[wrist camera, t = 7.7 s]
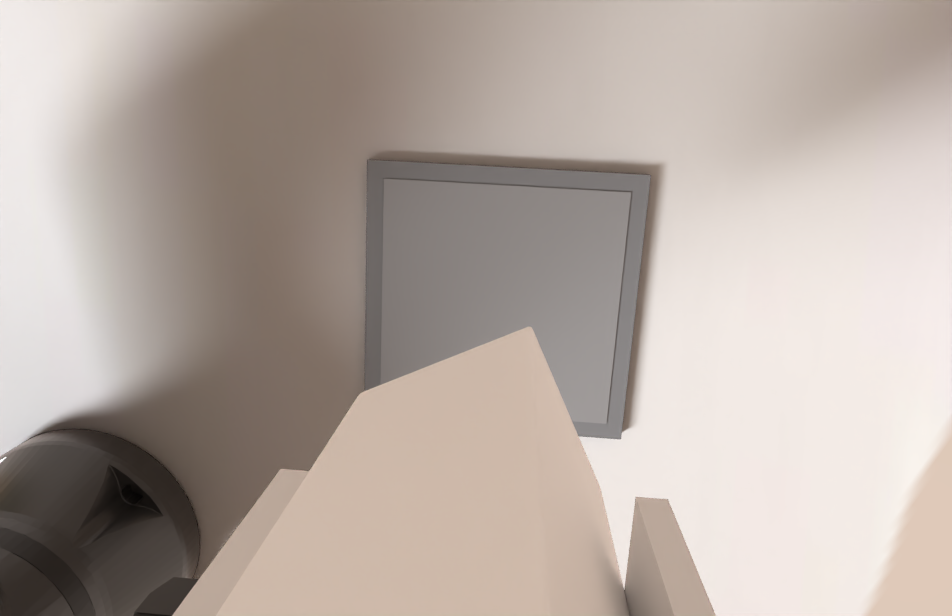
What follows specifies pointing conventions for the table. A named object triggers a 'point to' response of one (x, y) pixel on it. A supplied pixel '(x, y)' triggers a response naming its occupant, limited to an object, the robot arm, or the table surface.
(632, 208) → the mat
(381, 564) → the milk
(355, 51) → the table surface
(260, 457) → the table surface
